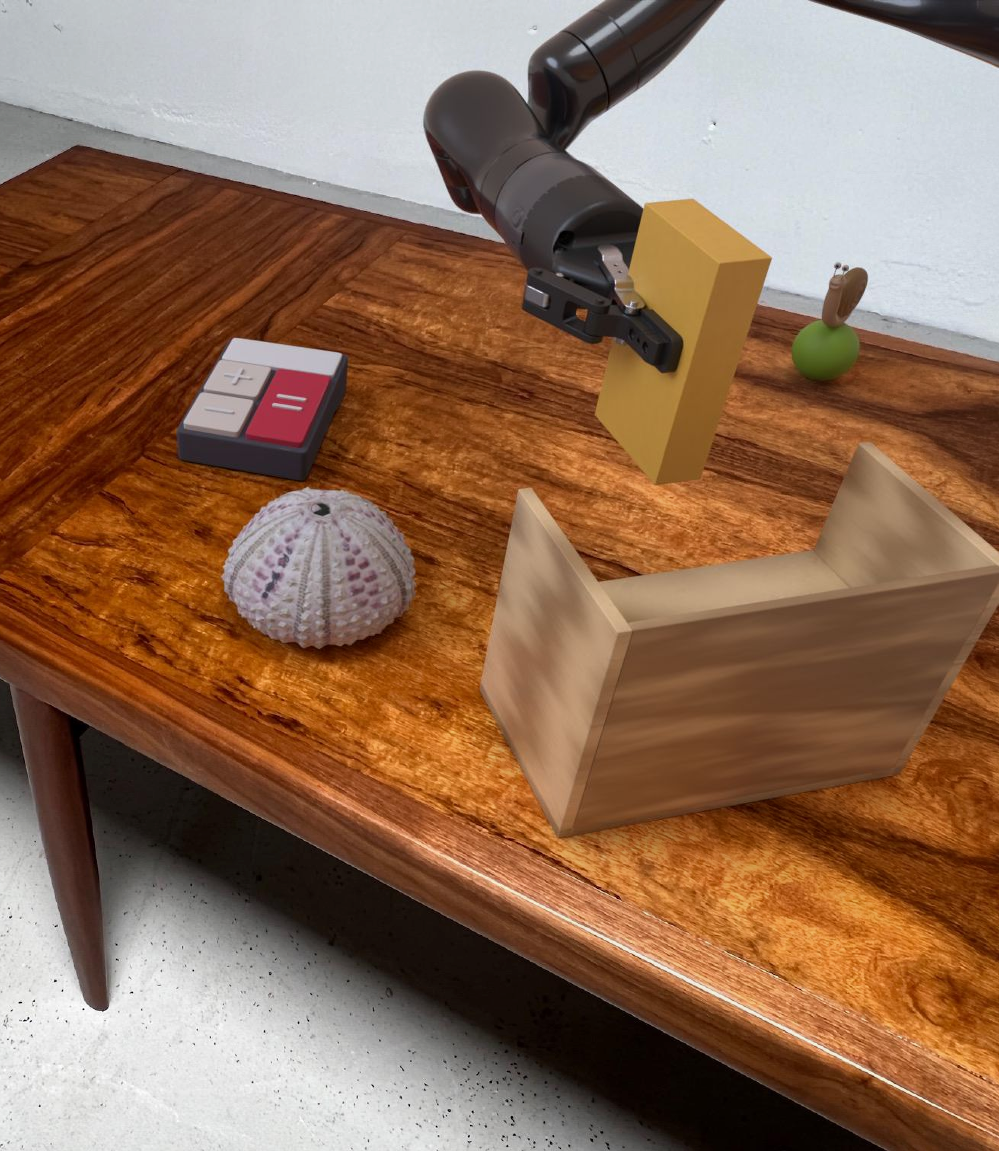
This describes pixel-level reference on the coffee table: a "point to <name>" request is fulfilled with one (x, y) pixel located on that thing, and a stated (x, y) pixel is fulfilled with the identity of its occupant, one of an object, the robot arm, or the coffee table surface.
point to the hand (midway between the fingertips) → (703, 354)
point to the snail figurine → (832, 330)
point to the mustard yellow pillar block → (707, 326)
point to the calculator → (264, 408)
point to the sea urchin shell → (320, 569)
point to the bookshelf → (734, 658)
